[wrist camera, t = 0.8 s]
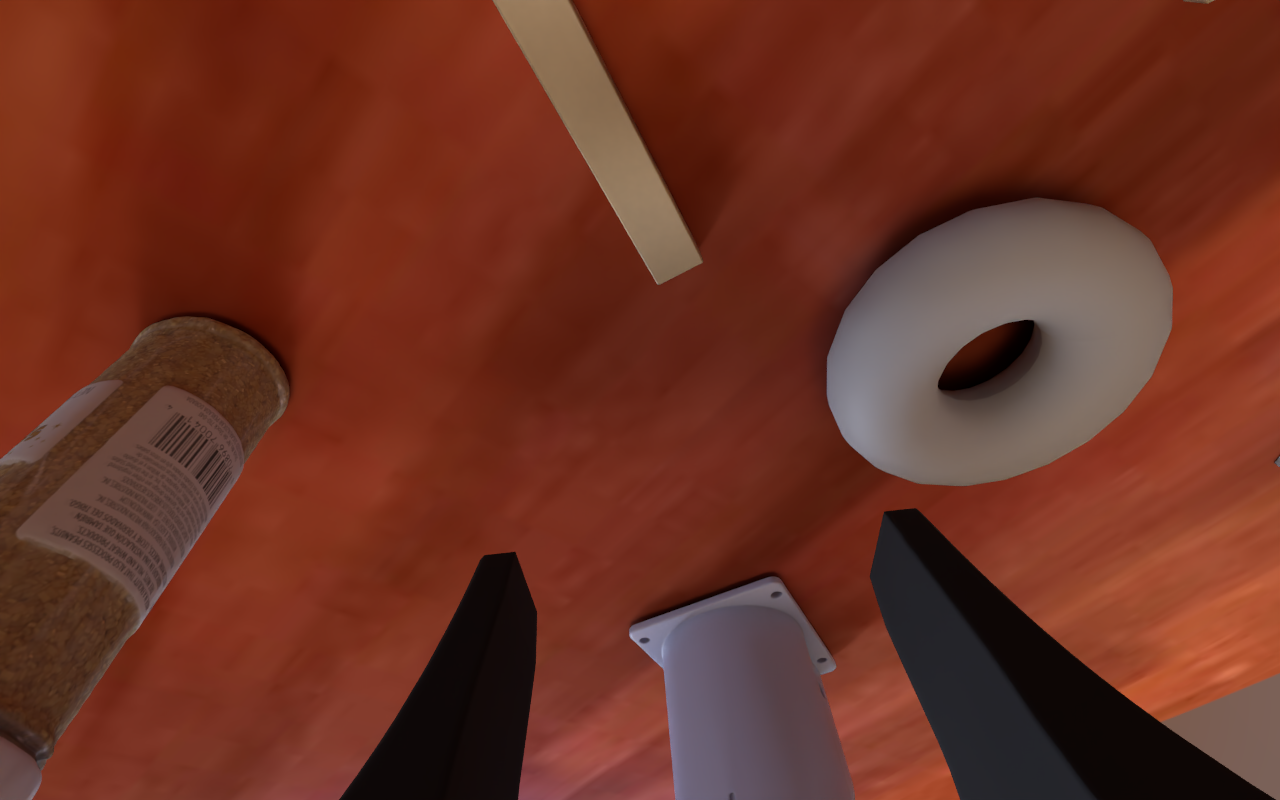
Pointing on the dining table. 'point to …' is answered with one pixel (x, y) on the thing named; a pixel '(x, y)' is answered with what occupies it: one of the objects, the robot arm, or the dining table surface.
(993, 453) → the donut
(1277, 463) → the grey pedestal stand
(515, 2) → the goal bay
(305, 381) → the dining table surface
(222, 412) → the sprinkles bottle
